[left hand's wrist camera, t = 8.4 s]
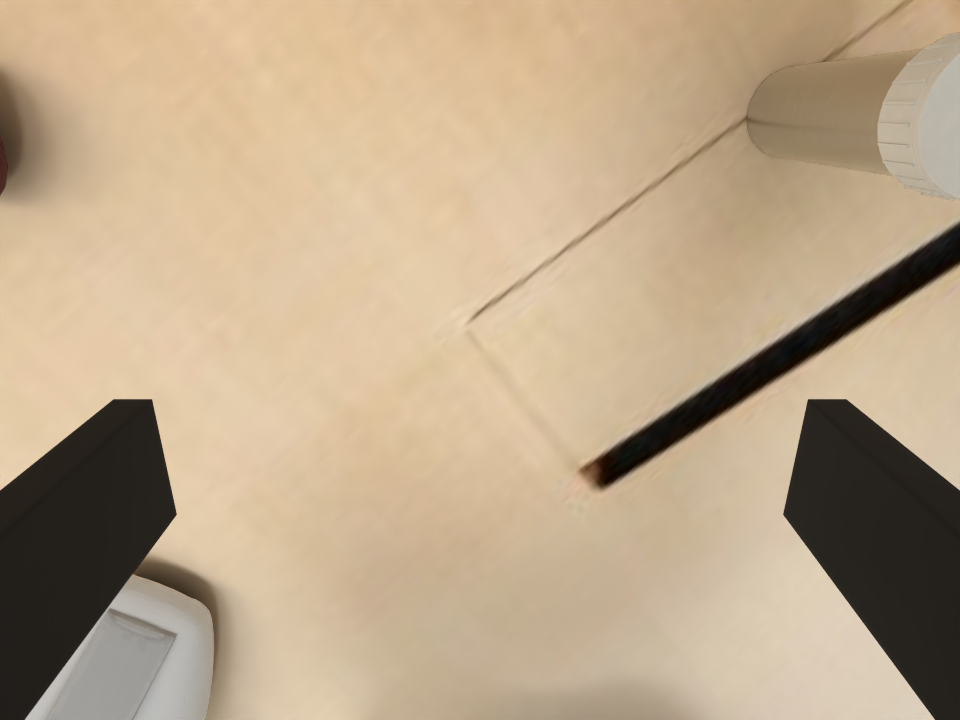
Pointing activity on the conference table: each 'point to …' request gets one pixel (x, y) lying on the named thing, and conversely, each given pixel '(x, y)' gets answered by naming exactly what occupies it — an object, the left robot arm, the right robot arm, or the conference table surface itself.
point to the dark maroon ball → (2, 168)
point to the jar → (826, 111)
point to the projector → (138, 661)
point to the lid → (925, 121)
